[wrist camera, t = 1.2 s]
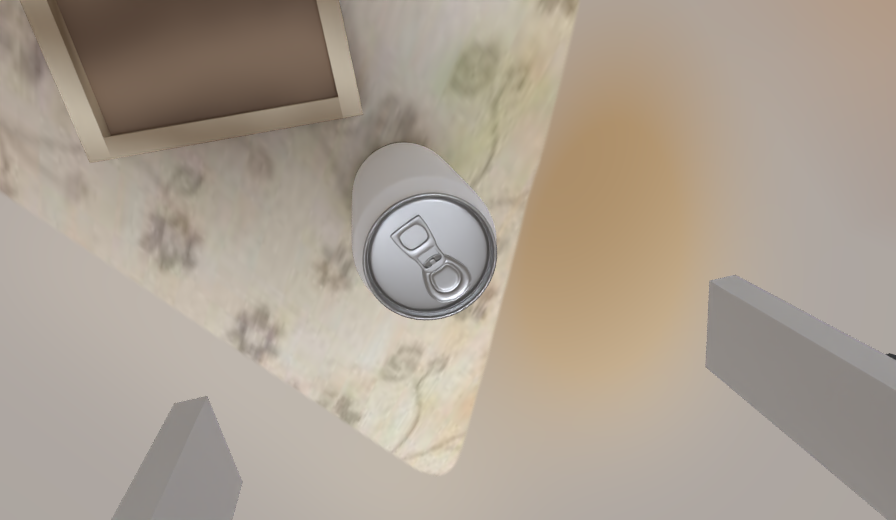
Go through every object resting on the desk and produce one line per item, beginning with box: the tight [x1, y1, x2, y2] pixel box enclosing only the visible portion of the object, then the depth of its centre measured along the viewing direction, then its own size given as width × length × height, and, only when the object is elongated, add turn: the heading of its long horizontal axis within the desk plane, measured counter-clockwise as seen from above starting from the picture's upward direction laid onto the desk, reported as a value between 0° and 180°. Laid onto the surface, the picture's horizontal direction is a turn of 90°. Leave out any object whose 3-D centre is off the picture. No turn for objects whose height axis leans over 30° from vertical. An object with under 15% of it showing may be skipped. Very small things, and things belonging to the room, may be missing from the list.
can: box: [352, 142, 497, 320], centre depth 26 cm, size 6×6×12 cm
